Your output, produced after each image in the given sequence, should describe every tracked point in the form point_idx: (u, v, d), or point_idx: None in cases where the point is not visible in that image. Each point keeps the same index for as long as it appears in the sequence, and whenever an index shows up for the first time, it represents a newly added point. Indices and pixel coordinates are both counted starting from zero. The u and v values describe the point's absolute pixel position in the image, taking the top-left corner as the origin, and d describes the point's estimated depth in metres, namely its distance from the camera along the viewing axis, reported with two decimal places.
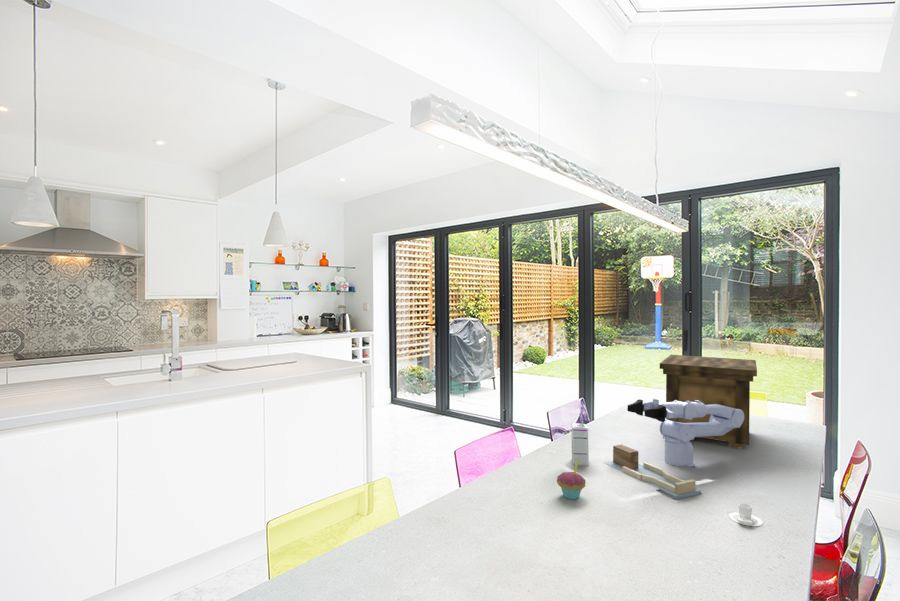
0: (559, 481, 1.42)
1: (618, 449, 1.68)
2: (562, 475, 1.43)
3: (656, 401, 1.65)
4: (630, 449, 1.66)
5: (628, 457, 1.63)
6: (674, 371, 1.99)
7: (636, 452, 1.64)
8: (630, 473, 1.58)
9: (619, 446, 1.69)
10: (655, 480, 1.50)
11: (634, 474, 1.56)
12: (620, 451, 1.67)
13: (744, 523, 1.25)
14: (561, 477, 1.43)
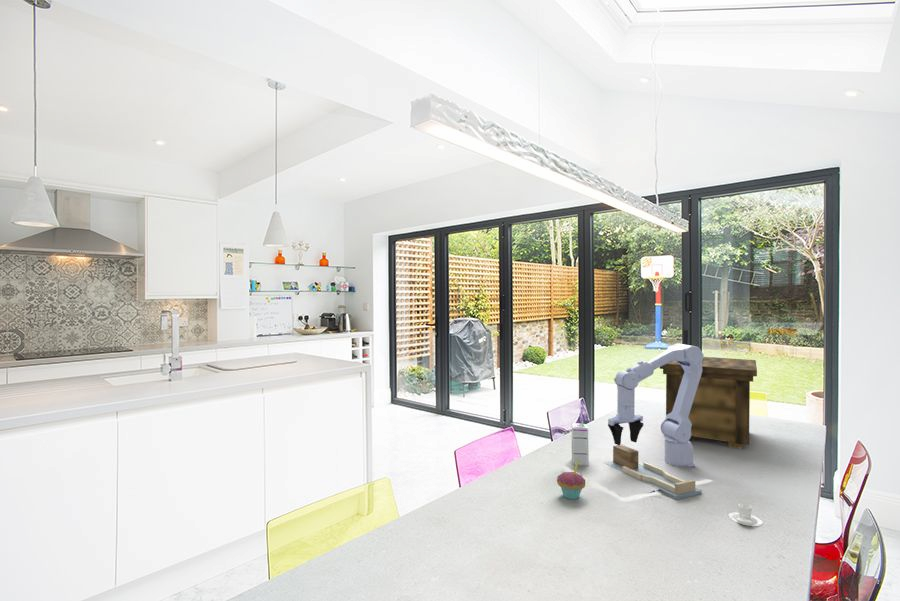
0: (559, 481, 1.42)
1: (618, 449, 1.68)
2: (562, 475, 1.43)
3: None
4: (630, 449, 1.66)
5: (628, 457, 1.63)
6: (674, 371, 1.99)
7: (636, 452, 1.64)
8: (630, 473, 1.58)
9: (619, 446, 1.69)
10: (655, 480, 1.50)
11: (634, 474, 1.56)
12: (620, 451, 1.67)
13: (744, 523, 1.25)
14: (561, 477, 1.43)
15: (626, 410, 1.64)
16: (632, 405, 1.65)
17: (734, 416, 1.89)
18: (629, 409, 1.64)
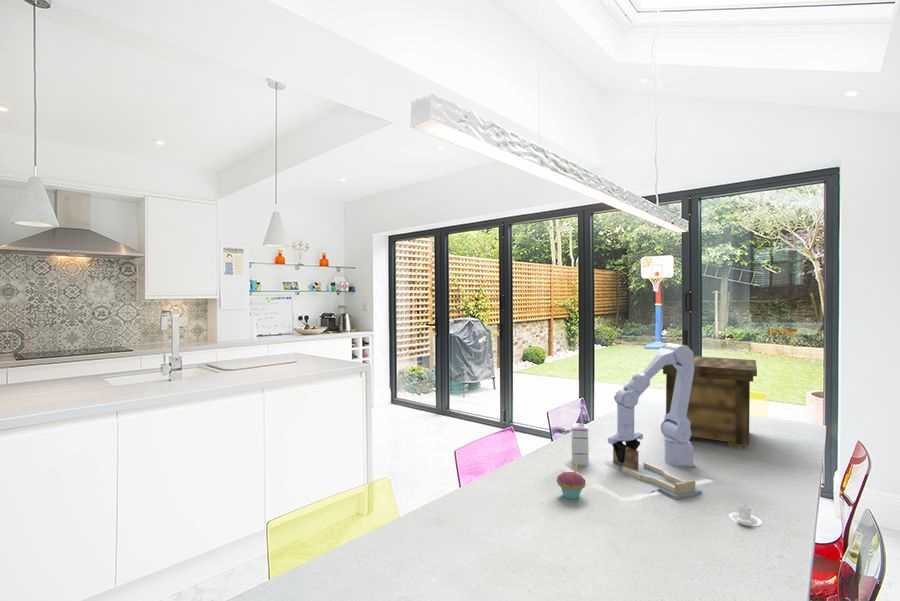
0: (559, 481, 1.42)
1: None
2: (562, 475, 1.43)
3: None
4: (630, 449, 1.66)
5: (628, 457, 1.63)
6: (674, 371, 1.99)
7: (636, 452, 1.64)
8: (630, 473, 1.58)
9: None
10: (655, 480, 1.50)
11: (634, 474, 1.56)
12: None
13: (743, 523, 1.25)
14: (561, 477, 1.43)
15: (626, 429, 1.64)
16: (632, 424, 1.65)
17: (734, 416, 1.89)
18: (629, 428, 1.64)
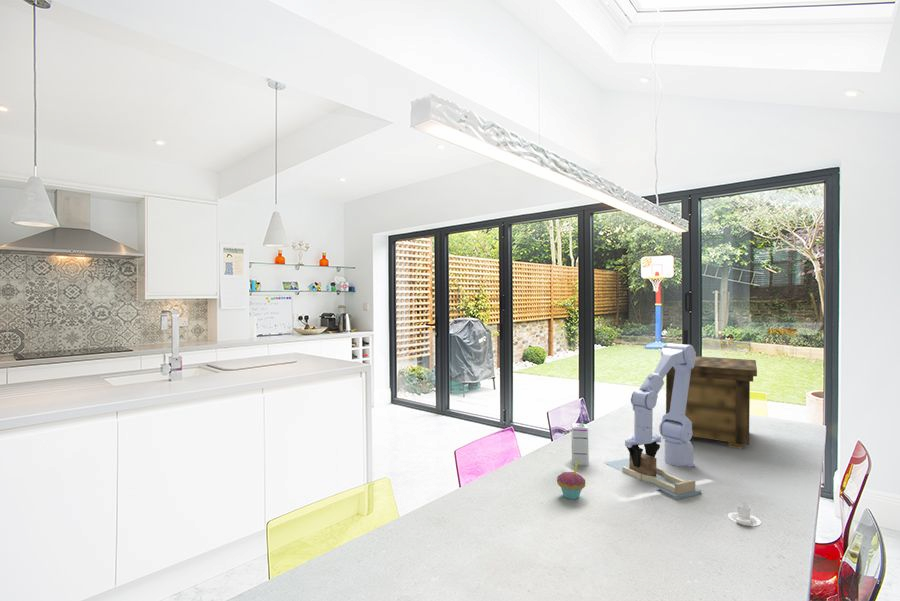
0: (559, 481, 1.42)
1: None
2: (562, 475, 1.43)
3: None
4: (647, 456, 1.59)
5: (646, 464, 1.56)
6: (674, 371, 1.99)
7: (654, 459, 1.57)
8: (630, 473, 1.58)
9: None
10: (655, 480, 1.50)
11: (634, 474, 1.56)
12: None
13: (742, 523, 1.25)
14: (561, 477, 1.43)
15: (644, 431, 1.57)
16: None
17: (734, 416, 1.89)
18: (647, 430, 1.57)
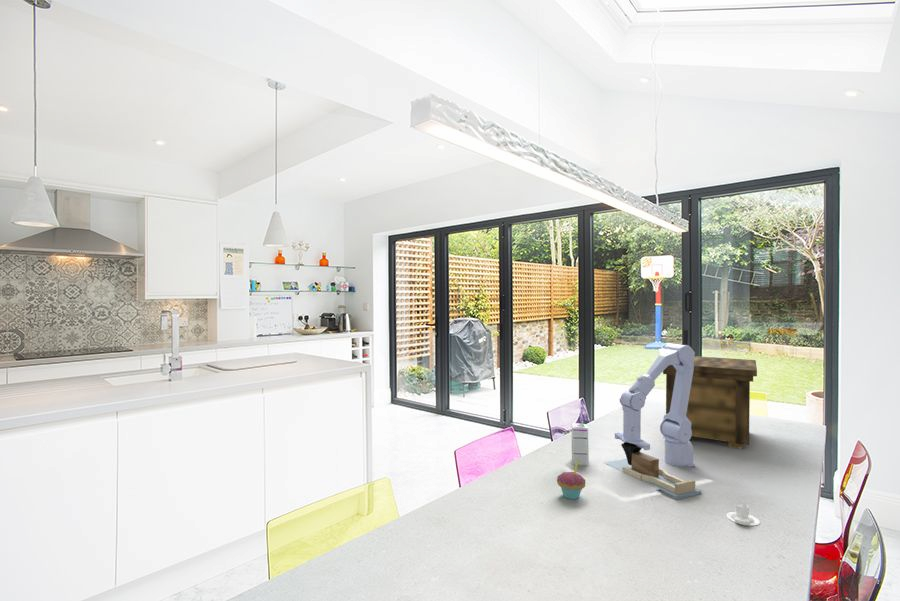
0: (559, 481, 1.42)
1: (637, 457, 1.60)
2: (562, 475, 1.43)
3: (625, 441, 1.63)
4: (650, 457, 1.58)
5: (648, 465, 1.55)
6: (674, 371, 1.99)
7: (656, 460, 1.56)
8: (630, 473, 1.58)
9: (638, 454, 1.61)
10: (655, 480, 1.50)
11: (634, 474, 1.56)
12: (639, 459, 1.59)
13: (741, 522, 1.25)
14: (561, 477, 1.43)
15: None
16: (639, 426, 1.62)
17: (734, 416, 1.89)
18: None
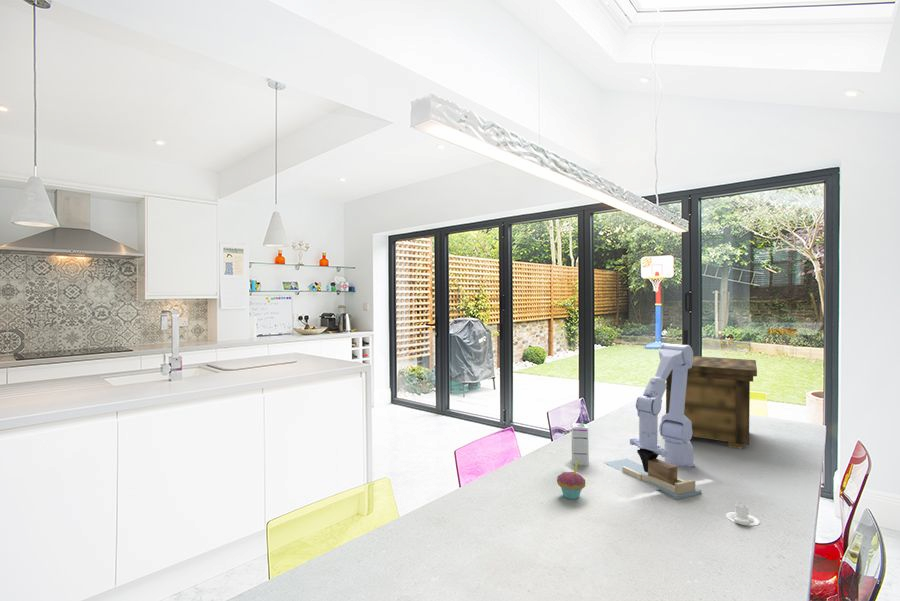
0: (559, 481, 1.42)
1: (654, 464, 1.53)
2: (562, 475, 1.43)
3: None
4: (668, 464, 1.51)
5: (666, 473, 1.49)
6: None
7: (675, 468, 1.49)
8: (630, 473, 1.58)
9: (655, 461, 1.55)
10: (655, 480, 1.50)
11: (634, 474, 1.56)
12: (656, 466, 1.52)
13: (741, 522, 1.25)
14: (561, 477, 1.43)
15: None
16: None
17: (734, 416, 1.89)
18: None
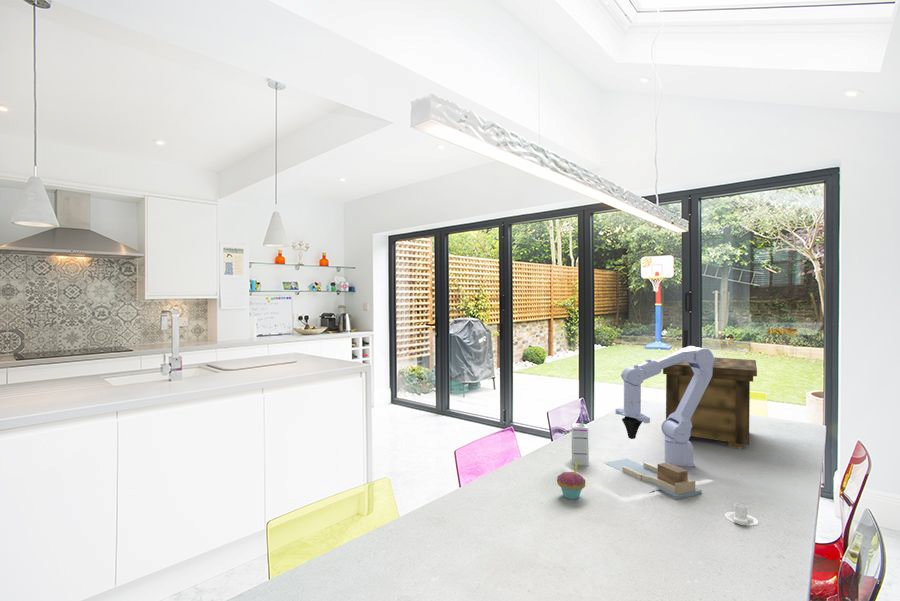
0: (559, 481, 1.42)
1: (664, 468, 1.49)
2: (562, 475, 1.43)
3: (626, 416, 1.68)
4: (678, 468, 1.48)
5: (676, 478, 1.45)
6: (674, 371, 1.99)
7: (685, 472, 1.46)
8: (630, 473, 1.58)
9: (664, 464, 1.51)
10: (655, 480, 1.50)
11: (634, 474, 1.56)
12: (666, 470, 1.49)
13: (739, 522, 1.25)
14: (561, 477, 1.43)
15: None
16: (638, 401, 1.67)
17: (734, 416, 1.89)
18: None
